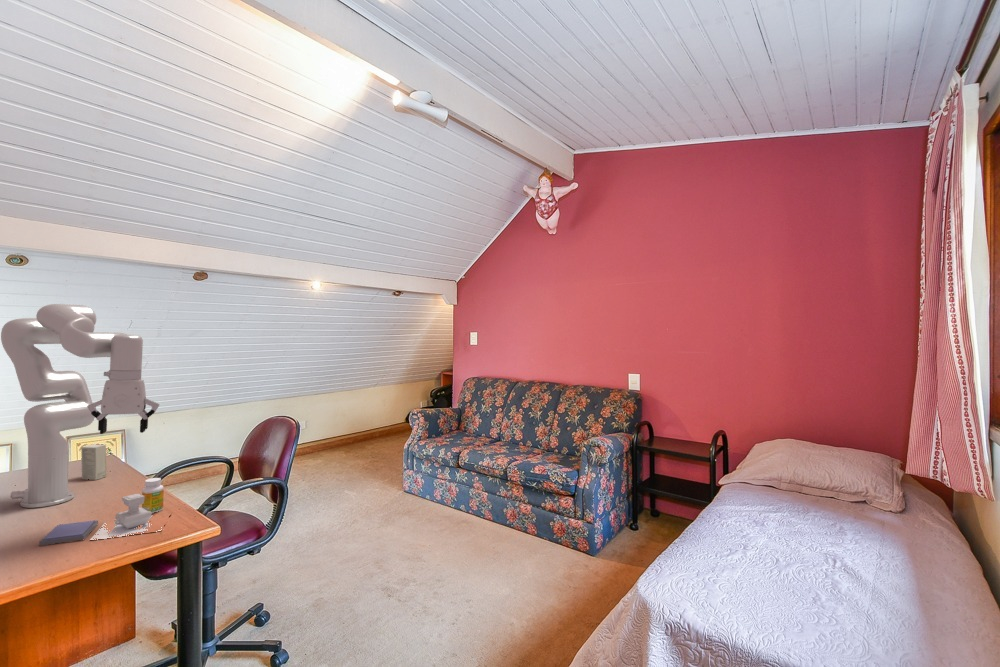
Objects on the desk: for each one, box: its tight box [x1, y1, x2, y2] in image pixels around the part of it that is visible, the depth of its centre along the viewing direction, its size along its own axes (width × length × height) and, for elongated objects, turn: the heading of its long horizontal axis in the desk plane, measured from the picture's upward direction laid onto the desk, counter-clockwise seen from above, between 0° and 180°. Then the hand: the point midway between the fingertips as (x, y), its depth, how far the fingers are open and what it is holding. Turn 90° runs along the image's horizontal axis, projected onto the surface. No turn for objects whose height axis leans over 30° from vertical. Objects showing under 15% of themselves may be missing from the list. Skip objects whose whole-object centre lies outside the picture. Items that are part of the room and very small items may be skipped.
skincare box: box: [80, 443, 107, 481], centre depth 178 cm, size 6×4×12 cm
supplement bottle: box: [141, 477, 165, 514], centre depth 148 cm, size 5×5×10 cm
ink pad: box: [39, 519, 99, 547], centre depth 130 cm, size 9×11×2 cm
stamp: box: [114, 492, 153, 529], centre depth 136 cm, size 9×7×8 cm
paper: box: [89, 521, 162, 541], centre depth 136 cm, size 16×14×1 cm
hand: (123, 432), depth 144 cm, fingers open, 9 cm apart
